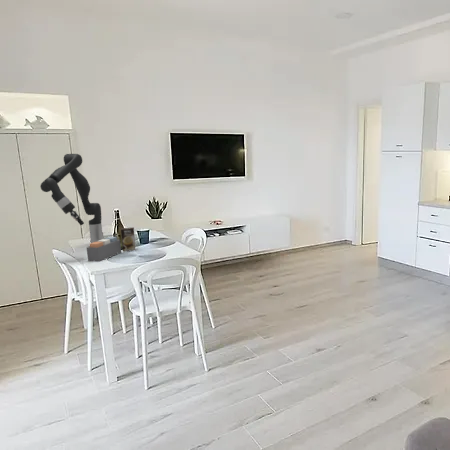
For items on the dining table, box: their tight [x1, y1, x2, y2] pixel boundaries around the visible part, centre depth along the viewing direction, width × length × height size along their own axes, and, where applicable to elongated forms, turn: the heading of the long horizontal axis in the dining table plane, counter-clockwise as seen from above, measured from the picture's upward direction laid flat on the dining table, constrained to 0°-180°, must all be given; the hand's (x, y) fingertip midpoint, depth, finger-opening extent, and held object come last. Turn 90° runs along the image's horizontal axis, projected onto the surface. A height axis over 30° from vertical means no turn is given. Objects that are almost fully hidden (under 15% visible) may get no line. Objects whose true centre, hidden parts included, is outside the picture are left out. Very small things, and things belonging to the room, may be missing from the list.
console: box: [86, 239, 122, 262], centre depth 266 cm, size 25×9×9 cm, turn 161°
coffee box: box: [120, 227, 137, 252], centre depth 281 cm, size 9×6×16 cm
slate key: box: [104, 236, 118, 242], centre depth 273 cm, size 6×6×3 cm
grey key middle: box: [97, 238, 110, 245], centre depth 265 cm, size 6×6×3 cm
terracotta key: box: [89, 242, 103, 248], centre depth 258 cm, size 6×6×3 cm
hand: (82, 224), depth 257 cm, fingers open, 8 cm apart
